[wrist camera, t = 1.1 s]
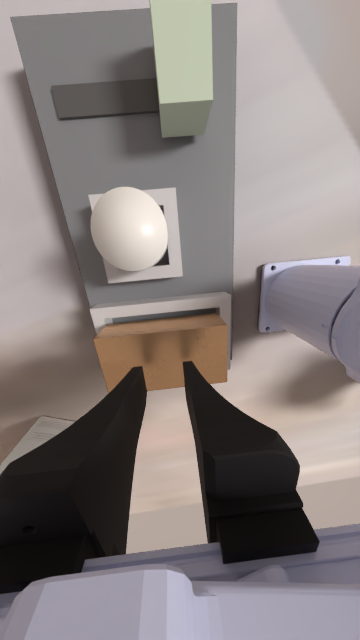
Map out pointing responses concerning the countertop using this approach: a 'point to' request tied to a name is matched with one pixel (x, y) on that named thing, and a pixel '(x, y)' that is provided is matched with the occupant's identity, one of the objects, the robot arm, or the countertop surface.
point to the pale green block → (183, 64)
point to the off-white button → (129, 229)
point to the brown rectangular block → (164, 350)
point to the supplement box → (36, 437)
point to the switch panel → (137, 157)
